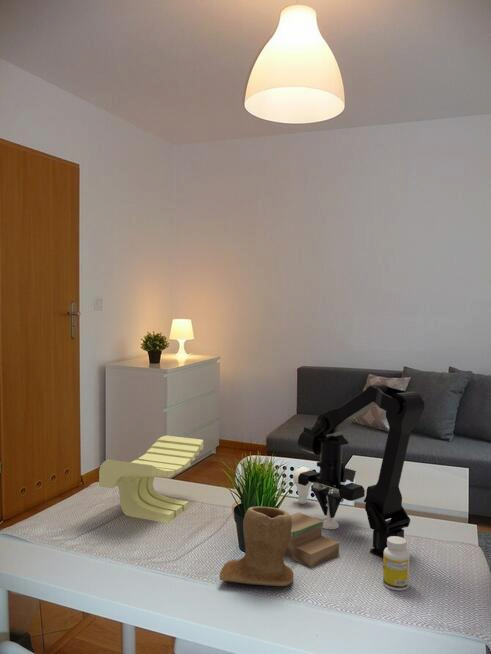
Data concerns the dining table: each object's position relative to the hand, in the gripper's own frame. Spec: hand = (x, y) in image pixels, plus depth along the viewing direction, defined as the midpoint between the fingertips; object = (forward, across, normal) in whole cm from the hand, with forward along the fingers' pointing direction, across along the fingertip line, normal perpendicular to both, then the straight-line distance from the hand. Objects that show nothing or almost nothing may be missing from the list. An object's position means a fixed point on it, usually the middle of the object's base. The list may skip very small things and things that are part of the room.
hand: (329, 516), depth 153 cm
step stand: (+3, -6, +17) cm, 18 cm away
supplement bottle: (+3, -30, +14) cm, 33 cm away
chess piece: (+3, 0, 0) cm, 3 cm away
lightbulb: (+3, +16, -7) cm, 18 cm away
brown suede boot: (+3, -9, +34) cm, 36 cm away
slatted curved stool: (+3, +39, +30) cm, 49 cm away
